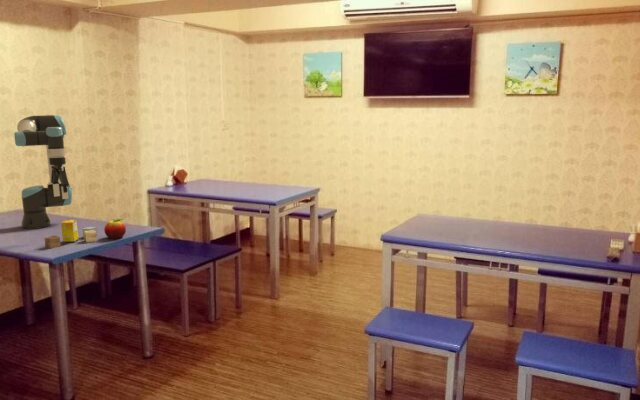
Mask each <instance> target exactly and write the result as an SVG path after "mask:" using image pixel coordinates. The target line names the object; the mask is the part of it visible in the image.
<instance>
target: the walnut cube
mask: <svg viewBox="0 0 640 400" xmlns="http://www.w3.org/2000/svg"><path fill="white" fill-rule="evenodd" d="M58 247H61V237H60V236H57V235H50V236H46V237H44V248H47V249H56V248H58Z"/></svg>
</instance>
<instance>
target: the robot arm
mask: <svg viewBox="0 0 640 400" xmlns="http://www.w3.org/2000/svg"><path fill="white" fill-rule="evenodd" d="M16 125H17V126H16V128H17V131H15V132H14V134H13V135H14V144H15V146H17V147H31V146H32V147H35V146H45V147H46V157H47V165H48V166H47V167H48V175H49V182H48V183H47V187H44V185H41V184H40V185H33V186H29V187H26V188H25V187H24V188H23V189H22V190H21V199H22V210H23V215H22V219H21V228H22V229H41V228H45V227H49V226H51V224H52V222H51V219H50V216H49V215H48V213H47V208H54V207H66V206H70V205H71V204H72V203H73V202H72V201H73V186H72V185H70V182H69V179H68V176H67V172H66V167H65V165H66V163H67V162H66V161H67V160H66V157H65V156H66V151H65V145H64V144H65V143H64V141H65V140H64V139H65V136H66V135H67V130H66V124H65V121H64V118H63V116H61V115H58V114H57V115H55V114H49V115H48V114H47V115H30V116H27V117H23V118H22V119H21V120H20V121H18V123H17V124H16Z"/></svg>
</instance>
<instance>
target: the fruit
mask: <svg viewBox="0 0 640 400" xmlns="http://www.w3.org/2000/svg"><path fill="white" fill-rule="evenodd" d="M124 220H125V218H117V219H114V218H113V219H112V220H110V221H107V223H106V224H105V226H104V229H103V231H104V234H105V236H106V237H107V238H108V239H110V240H111V239H113V240H117V239H121V238H123V237H124V236H125V234H126V232H127V231H126V230H127V229H126V224H124V222H123V221H124Z"/></svg>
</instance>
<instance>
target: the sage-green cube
mask: <svg viewBox="0 0 640 400" xmlns="http://www.w3.org/2000/svg"><path fill="white" fill-rule="evenodd" d="M91 230H95V231H96V235H97V236H98V229H97V226H87V227H84V228H82V238H84V239H85V236H84V231H91Z"/></svg>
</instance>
